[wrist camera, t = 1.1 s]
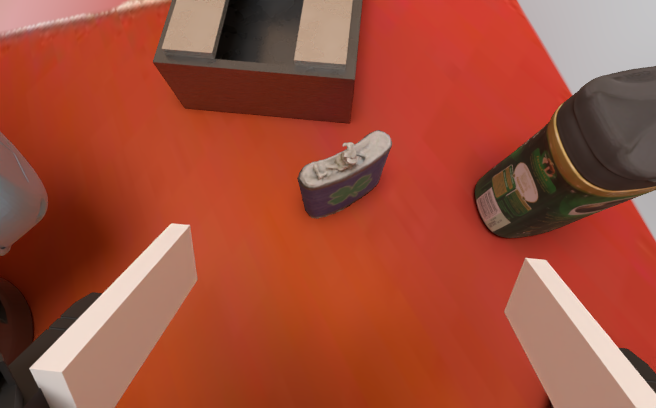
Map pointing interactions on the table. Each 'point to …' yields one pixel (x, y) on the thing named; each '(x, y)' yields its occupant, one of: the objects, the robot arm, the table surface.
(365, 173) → the flask
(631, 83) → the coffee jar
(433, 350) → the table surface
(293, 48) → the open box
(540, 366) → the robot arm
